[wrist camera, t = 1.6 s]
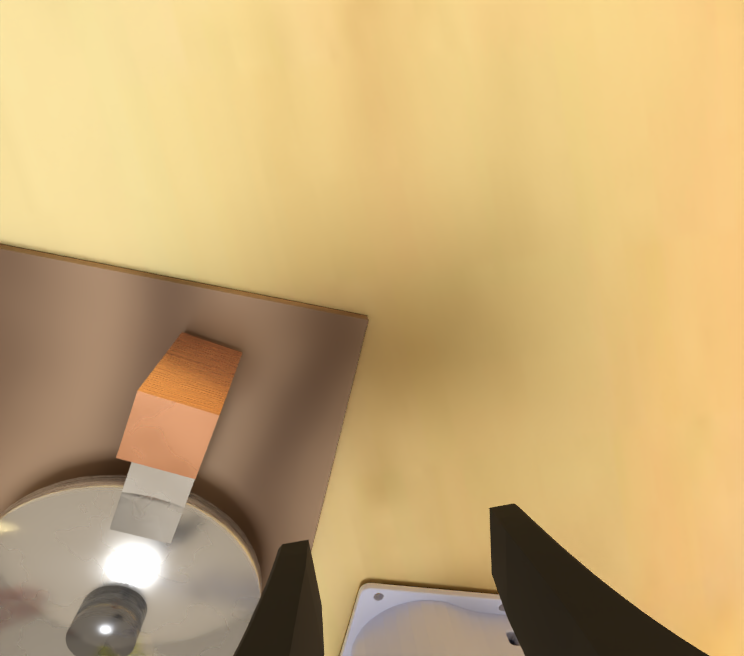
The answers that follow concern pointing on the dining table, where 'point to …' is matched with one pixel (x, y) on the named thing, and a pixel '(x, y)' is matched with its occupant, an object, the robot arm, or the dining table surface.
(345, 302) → the dining table surface
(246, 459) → the board
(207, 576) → the metal lid
